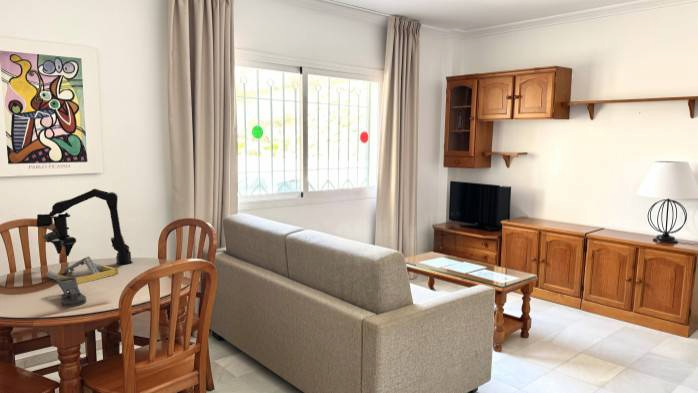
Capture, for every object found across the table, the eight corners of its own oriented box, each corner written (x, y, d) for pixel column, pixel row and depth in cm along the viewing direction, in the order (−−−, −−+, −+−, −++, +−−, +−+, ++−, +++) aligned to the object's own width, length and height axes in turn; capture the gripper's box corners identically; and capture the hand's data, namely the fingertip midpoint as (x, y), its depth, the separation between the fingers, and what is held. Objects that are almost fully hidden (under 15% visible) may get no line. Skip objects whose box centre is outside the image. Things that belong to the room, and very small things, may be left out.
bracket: (86, 278, 242) (76, 261, 242) (64, 291, 244) (53, 274, 244) (99, 272, 253) (89, 255, 252) (77, 285, 255) (67, 268, 254)
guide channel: (93, 266, 263) (93, 262, 263) (118, 274, 249) (118, 269, 249) (47, 276, 245) (47, 272, 244) (71, 285, 230) (71, 280, 230)
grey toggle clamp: (76, 275, 223) (86, 288, 204) (77, 289, 224) (87, 303, 205) (54, 279, 218) (62, 292, 198) (55, 293, 219) (63, 308, 199)
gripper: (36, 226, 255) (38, 255, 257) (52, 230, 244) (55, 260, 246) (58, 223, 264) (61, 251, 266) (75, 226, 253) (77, 256, 255)
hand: (63, 254), depth 258 cm, fingers open, 9 cm apart
